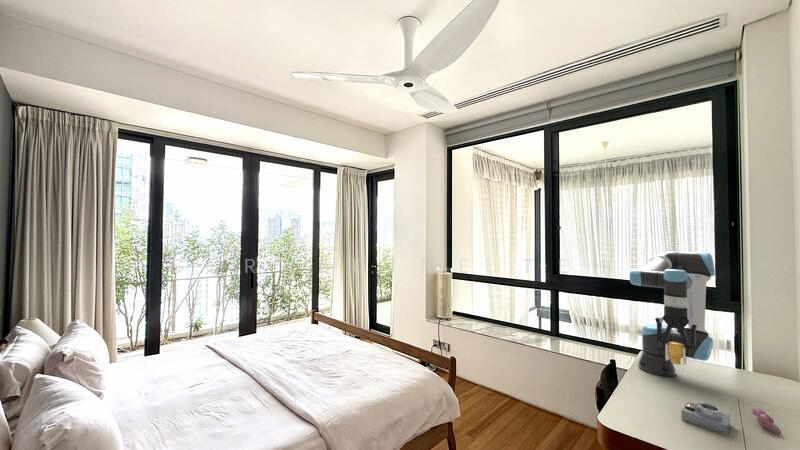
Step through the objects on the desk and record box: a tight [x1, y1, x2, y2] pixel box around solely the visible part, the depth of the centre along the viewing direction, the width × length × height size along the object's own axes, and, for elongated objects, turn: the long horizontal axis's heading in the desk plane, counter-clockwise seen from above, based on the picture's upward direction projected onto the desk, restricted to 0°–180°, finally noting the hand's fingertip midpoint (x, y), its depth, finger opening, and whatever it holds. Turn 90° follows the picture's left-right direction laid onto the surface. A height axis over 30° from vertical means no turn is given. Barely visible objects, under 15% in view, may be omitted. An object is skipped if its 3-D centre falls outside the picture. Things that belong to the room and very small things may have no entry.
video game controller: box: [751, 406, 782, 435], centre depth 117 cm, size 10×5×7 cm, turn 141°
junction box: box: [681, 401, 731, 436], centre depth 119 cm, size 12×11×6 cm
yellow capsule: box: [668, 342, 684, 365], centre depth 134 cm, size 5×5×8 cm
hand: (675, 361), depth 134 cm, fingers closed on yellow capsule, 5 cm apart
